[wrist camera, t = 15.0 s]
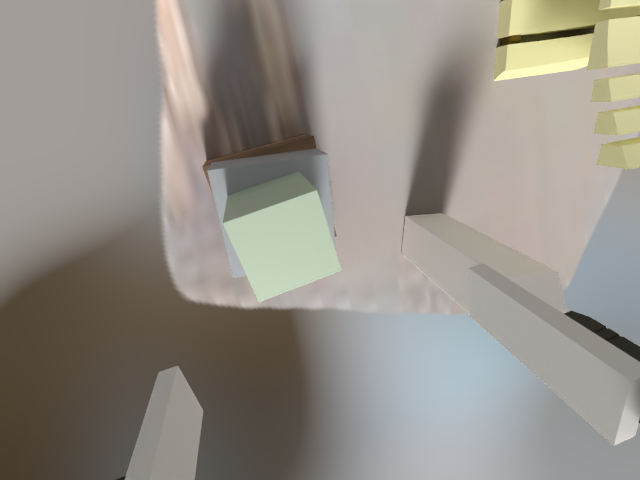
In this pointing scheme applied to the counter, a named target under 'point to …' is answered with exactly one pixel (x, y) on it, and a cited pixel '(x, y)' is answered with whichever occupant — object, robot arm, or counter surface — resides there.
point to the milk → (472, 259)
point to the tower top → (263, 169)
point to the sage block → (280, 235)
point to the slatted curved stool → (579, 57)
